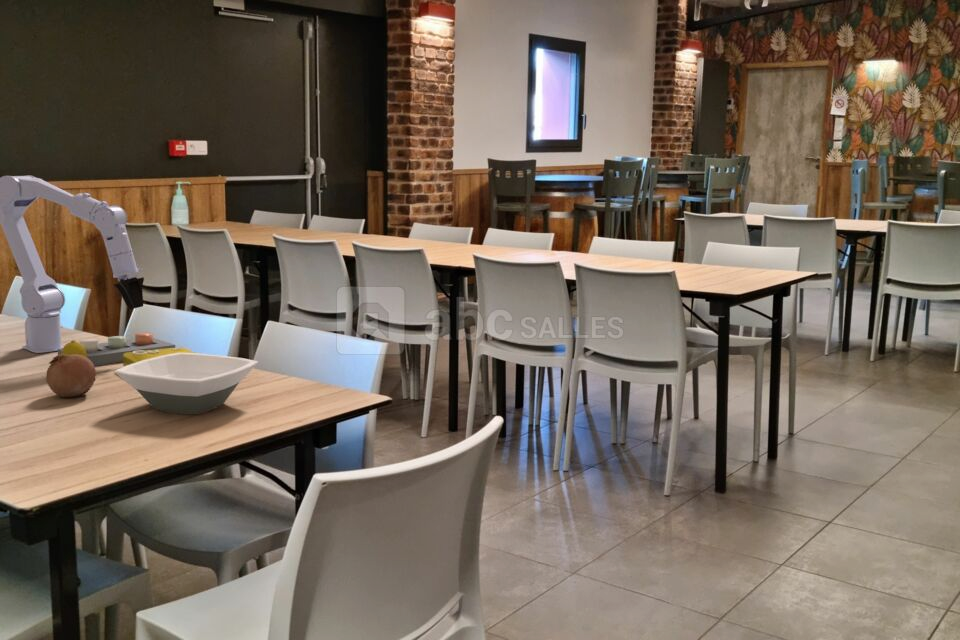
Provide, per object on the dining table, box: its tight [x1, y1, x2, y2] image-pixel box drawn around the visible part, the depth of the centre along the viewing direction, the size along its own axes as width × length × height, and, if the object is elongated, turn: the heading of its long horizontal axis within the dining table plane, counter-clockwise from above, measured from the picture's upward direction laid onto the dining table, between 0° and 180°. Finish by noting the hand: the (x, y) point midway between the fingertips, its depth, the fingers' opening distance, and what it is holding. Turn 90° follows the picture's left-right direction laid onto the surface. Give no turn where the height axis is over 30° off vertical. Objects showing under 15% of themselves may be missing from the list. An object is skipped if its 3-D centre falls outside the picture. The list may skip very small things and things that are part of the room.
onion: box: [45, 354, 97, 399], centre depth 197 cm, size 10×9×10 cm
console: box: [57, 337, 176, 367], centre depth 236 cm, size 13×24×2 cm, turn 135°
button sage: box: [107, 335, 127, 350], centre depth 236 cm, size 4×4×3 cm
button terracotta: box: [134, 332, 154, 346], centre depth 241 cm, size 4×4×3 cm
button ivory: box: [79, 338, 99, 353], centre depth 231 cm, size 4×4×3 cm
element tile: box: [122, 346, 196, 367], centre depth 222 cm, size 15×15×5 cm
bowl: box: [114, 352, 259, 415], centre depth 191 cm, size 22×23×8 cm
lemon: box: [61, 340, 87, 357], centre depth 215 cm, size 6×6×8 cm
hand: (135, 307), depth 236 cm, fingers open, 7 cm apart
